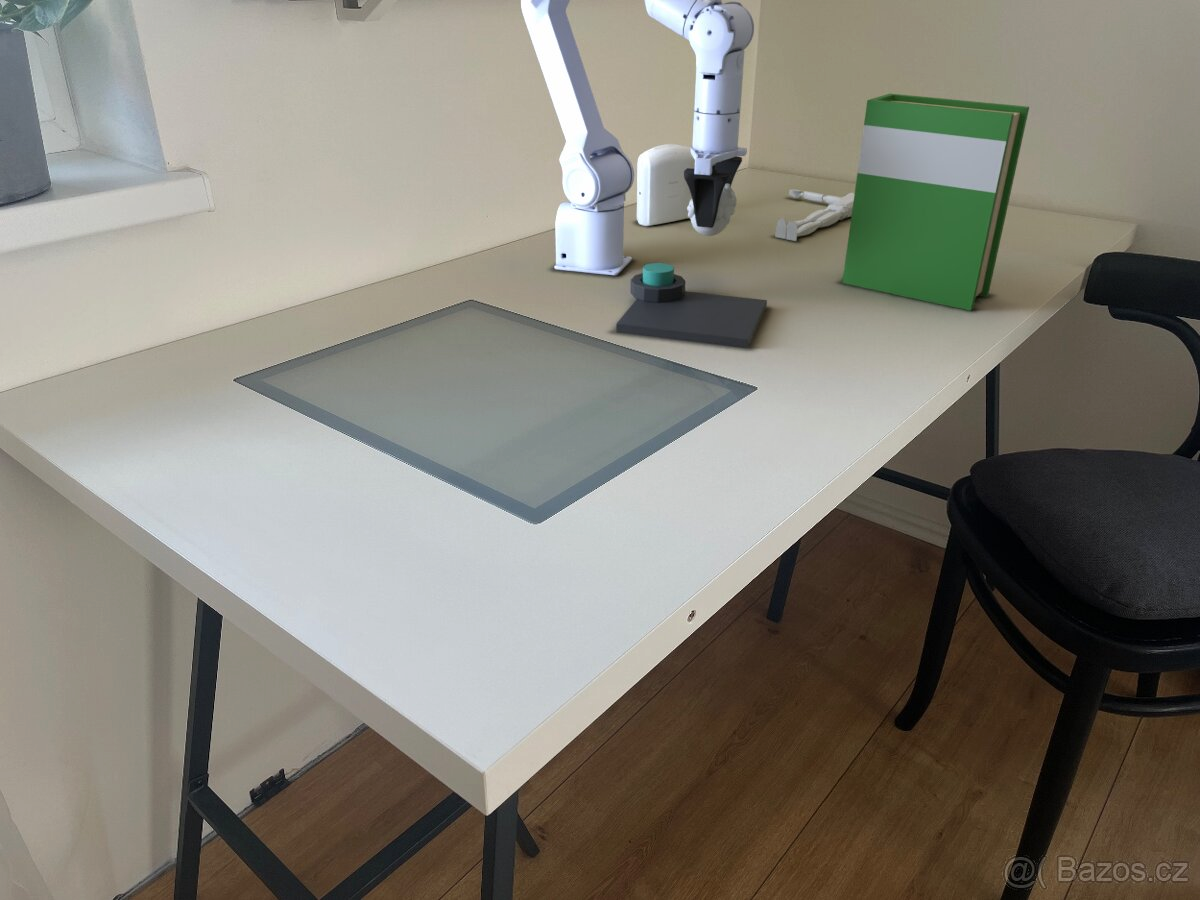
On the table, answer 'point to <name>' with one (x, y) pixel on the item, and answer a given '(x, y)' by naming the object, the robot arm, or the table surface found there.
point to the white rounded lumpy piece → (723, 213)
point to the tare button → (658, 274)
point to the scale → (691, 314)
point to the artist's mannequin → (816, 215)
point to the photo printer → (663, 184)
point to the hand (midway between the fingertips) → (710, 219)
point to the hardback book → (932, 196)
